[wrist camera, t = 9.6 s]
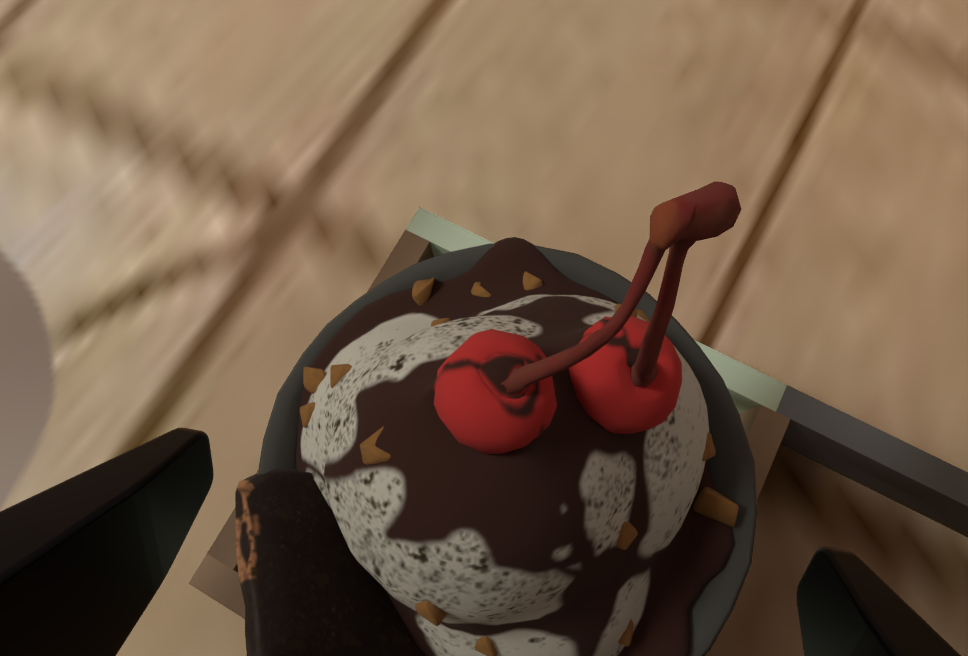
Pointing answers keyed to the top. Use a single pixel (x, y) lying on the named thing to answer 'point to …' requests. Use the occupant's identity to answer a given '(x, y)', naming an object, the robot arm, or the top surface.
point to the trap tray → (762, 409)
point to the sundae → (504, 465)
